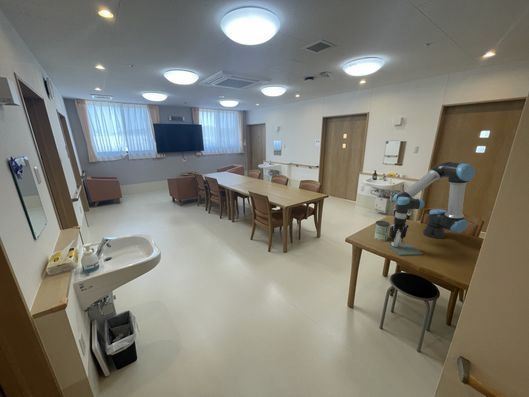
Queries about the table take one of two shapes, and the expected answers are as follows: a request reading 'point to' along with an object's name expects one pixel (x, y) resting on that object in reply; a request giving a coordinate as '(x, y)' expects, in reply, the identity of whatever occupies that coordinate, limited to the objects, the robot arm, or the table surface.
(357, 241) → the table surface
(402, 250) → the slate board
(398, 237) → the chalk stick
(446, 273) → the table surface
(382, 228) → the coffee can
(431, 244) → the table surface
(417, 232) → the table surface
